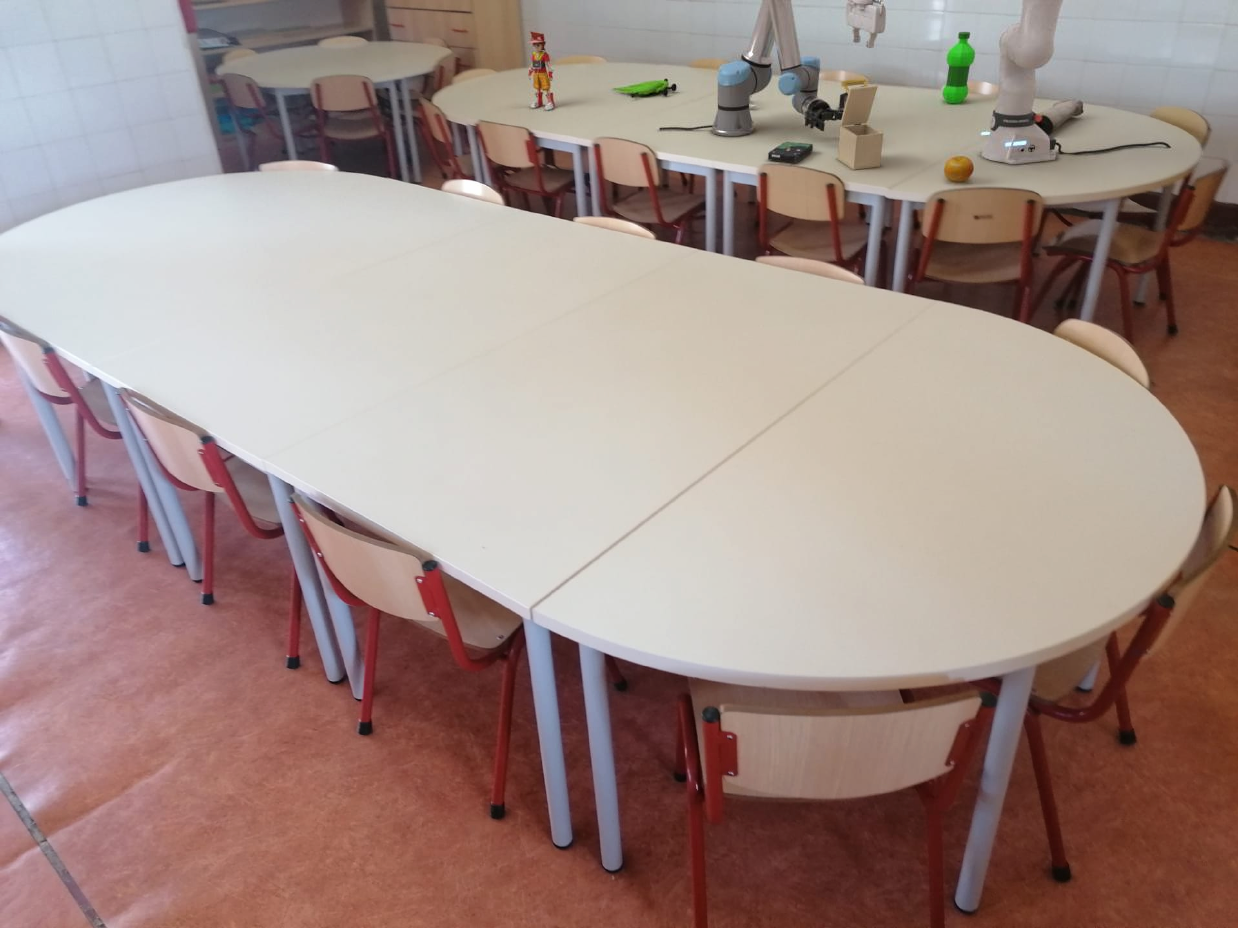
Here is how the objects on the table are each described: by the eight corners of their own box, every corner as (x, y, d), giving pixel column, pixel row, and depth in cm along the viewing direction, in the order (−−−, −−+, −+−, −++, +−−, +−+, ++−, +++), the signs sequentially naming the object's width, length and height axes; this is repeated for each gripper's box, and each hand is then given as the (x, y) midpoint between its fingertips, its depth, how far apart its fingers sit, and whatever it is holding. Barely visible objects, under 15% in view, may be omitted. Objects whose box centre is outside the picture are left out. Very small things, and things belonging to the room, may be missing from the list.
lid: (877, 86, 286) (868, 71, 290) (850, 89, 284) (841, 74, 289) (867, 123, 297) (858, 108, 301) (841, 126, 295) (832, 110, 300)
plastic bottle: (973, 101, 354) (984, 32, 339) (955, 106, 349) (966, 36, 335) (952, 97, 361) (962, 29, 346) (934, 102, 356) (944, 33, 342)
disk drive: (796, 164, 299) (812, 151, 309) (796, 156, 298) (813, 143, 308) (767, 161, 304) (784, 148, 314) (767, 152, 302) (785, 140, 312)
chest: (879, 166, 293) (883, 133, 287) (853, 169, 291) (856, 136, 285) (863, 156, 303) (866, 124, 297) (837, 159, 302) (840, 127, 296)
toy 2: (686, 85, 398) (631, 84, 414) (685, 72, 395) (629, 72, 411) (651, 104, 381) (596, 103, 397) (650, 92, 378) (594, 91, 394)
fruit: (938, 171, 273) (955, 148, 270) (938, 174, 281) (955, 151, 278) (961, 187, 272) (979, 164, 269) (961, 189, 280) (978, 166, 277)
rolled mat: (1050, 105, 332) (1075, 87, 323) (1064, 125, 332) (1089, 108, 324) (1018, 127, 314) (1043, 109, 306) (1032, 149, 315) (1057, 131, 306)
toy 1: (525, 109, 381) (517, 32, 364) (534, 104, 388) (527, 28, 371) (550, 110, 377) (543, 32, 360) (559, 105, 384) (553, 28, 367)
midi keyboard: (841, 108, 355) (842, 95, 352) (838, 108, 356) (840, 94, 353) (863, 99, 366) (865, 86, 363) (860, 98, 366) (862, 86, 364)
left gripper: (847, 117, 326) (874, 133, 309) (783, 124, 322) (806, 140, 305) (850, 96, 321) (877, 110, 305) (784, 102, 317) (808, 117, 300)
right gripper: (893, -1, 265) (887, 50, 273) (862, -9, 282) (858, 39, 289) (873, 1, 264) (868, 52, 272) (843, -8, 281) (839, 40, 288)
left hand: (842, 125), depth 305 cm, fingers open, 13 cm apart
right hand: (863, 45), depth 281 cm, fingers open, 8 cm apart
